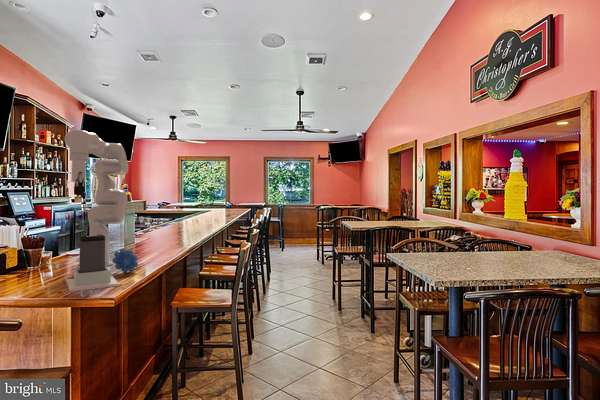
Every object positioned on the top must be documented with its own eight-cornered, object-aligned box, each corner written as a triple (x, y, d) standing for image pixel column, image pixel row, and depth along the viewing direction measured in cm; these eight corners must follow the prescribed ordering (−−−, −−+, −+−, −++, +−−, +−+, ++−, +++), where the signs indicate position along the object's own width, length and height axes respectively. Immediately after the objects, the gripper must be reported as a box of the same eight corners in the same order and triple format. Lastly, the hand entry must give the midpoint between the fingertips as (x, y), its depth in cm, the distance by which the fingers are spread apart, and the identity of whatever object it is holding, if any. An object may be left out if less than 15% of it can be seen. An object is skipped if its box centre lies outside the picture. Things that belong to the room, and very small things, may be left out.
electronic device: (102, 278, 168) (103, 234, 167) (105, 281, 163) (106, 236, 163) (78, 281, 162) (79, 235, 161) (81, 284, 157) (81, 237, 157)
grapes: (112, 275, 178) (112, 250, 178) (112, 272, 184) (112, 248, 184) (138, 273, 183) (138, 249, 183) (137, 270, 189) (138, 247, 189)
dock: (66, 281, 165) (66, 268, 165) (111, 276, 176) (111, 264, 175) (69, 291, 150) (69, 276, 150) (118, 285, 161) (118, 271, 161)
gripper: (68, 158, 175) (67, 194, 176) (71, 156, 161) (70, 195, 162) (86, 159, 179) (86, 194, 180) (90, 157, 165) (90, 195, 166)
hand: (78, 195), depth 171 cm, fingers open, 9 cm apart
